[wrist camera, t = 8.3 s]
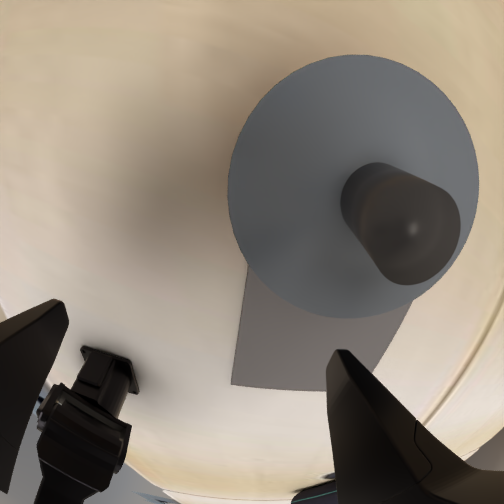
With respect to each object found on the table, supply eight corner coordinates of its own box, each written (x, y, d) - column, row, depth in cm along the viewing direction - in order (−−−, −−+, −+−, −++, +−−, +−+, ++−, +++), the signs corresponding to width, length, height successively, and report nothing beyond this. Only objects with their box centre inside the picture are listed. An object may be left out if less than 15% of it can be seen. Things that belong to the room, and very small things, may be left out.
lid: (422, 313, 15) (455, 367, 10) (219, 293, 15) (202, 364, 10) (484, 115, 9) (549, 127, 5) (250, 33, 9) (242, -18, 4)
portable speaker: (310, 492, 53) (312, 520, 44) (286, 490, 50) (286, 521, 41) (387, 465, 43) (394, 498, 34) (367, 464, 41) (373, 501, 32)
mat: (358, 386, 26) (359, 391, 25) (231, 380, 26) (230, 384, 25) (416, 282, 20) (419, 286, 19) (249, 260, 19) (249, 264, 19)
